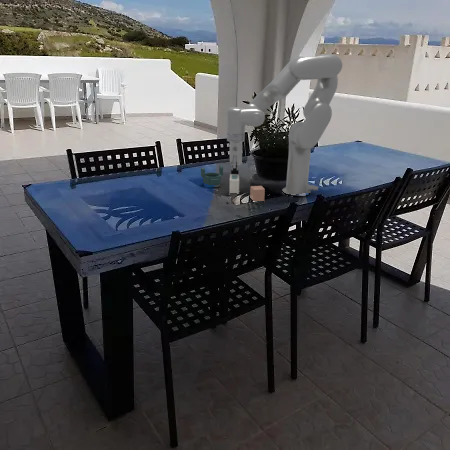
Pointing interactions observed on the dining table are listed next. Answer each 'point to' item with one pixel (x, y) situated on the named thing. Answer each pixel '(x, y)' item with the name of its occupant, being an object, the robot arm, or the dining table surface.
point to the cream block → (234, 183)
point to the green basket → (212, 176)
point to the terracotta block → (257, 193)
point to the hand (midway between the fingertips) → (234, 178)
